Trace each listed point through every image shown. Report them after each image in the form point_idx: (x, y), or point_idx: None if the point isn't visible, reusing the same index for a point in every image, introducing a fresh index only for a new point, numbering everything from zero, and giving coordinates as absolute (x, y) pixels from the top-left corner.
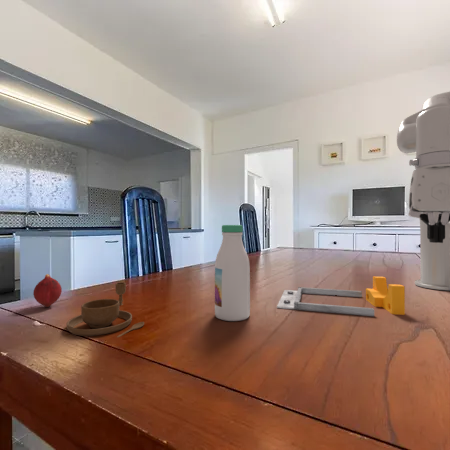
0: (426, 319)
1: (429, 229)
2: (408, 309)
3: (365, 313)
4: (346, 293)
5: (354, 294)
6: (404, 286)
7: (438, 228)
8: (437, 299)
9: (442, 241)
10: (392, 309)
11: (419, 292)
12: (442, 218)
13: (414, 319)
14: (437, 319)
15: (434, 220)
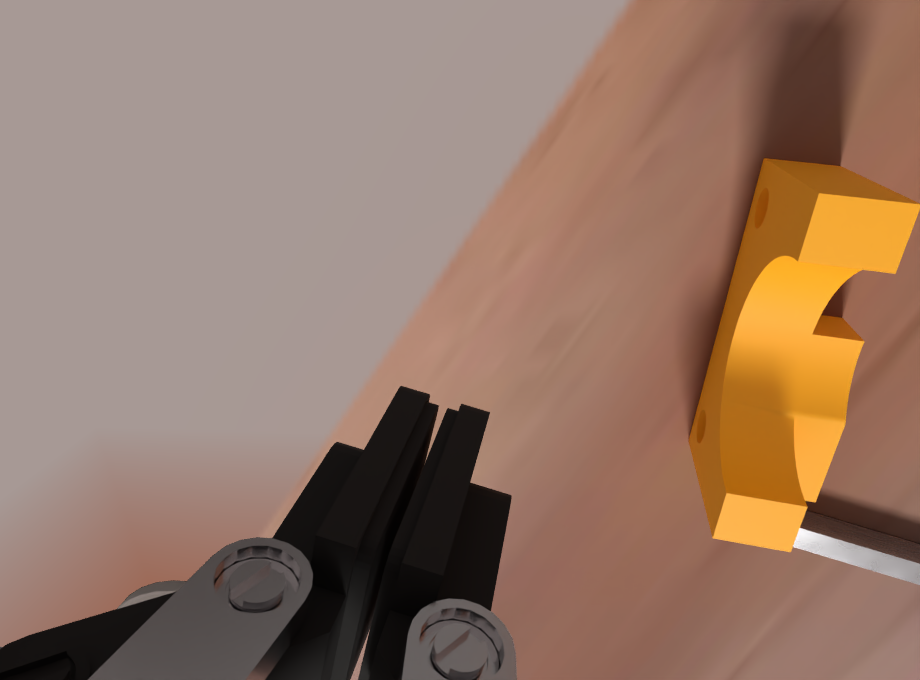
0: (692, 70)
1: (492, 590)
2: (660, 266)
3: None
4: (880, 542)
5: (831, 526)
6: (819, 193)
7: (384, 538)
8: (362, 449)
9: (404, 391)
10: (847, 171)
11: None
12: (255, 656)
13: (770, 64)
14: (623, 75)
15: (413, 669)
